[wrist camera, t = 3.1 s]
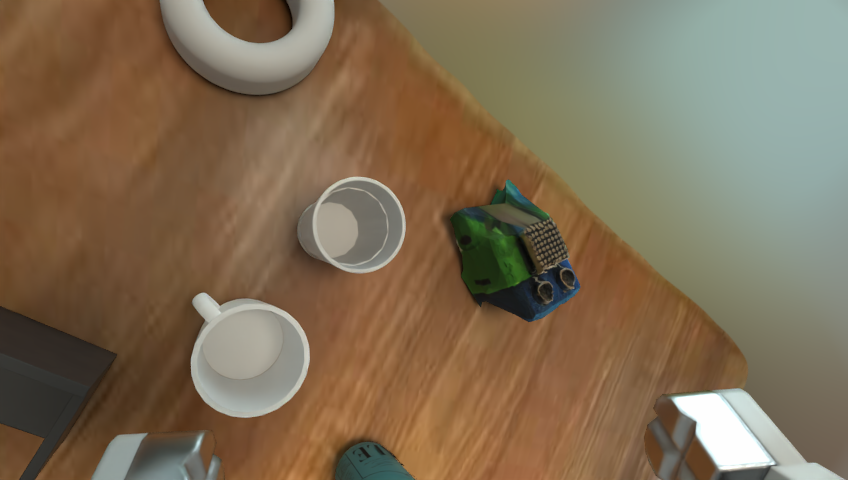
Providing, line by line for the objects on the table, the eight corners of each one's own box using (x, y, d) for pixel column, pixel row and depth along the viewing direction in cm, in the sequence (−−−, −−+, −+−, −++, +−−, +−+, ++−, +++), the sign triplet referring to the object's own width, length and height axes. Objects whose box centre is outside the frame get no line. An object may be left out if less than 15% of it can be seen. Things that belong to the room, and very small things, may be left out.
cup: (371, 203, 55) (414, 191, 44) (355, 275, 54) (394, 282, 43) (299, 183, 52) (325, 164, 41) (280, 259, 51) (302, 261, 40)
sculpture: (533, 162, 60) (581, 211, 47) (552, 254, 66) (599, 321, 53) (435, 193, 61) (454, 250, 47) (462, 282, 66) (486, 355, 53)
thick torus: (286, 125, 51) (297, 108, 45) (131, 44, 46) (121, 12, 40) (345, 3, 54) (363, -29, 48) (205, -87, 49) (206, -136, 43)
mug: (308, 340, 52) (332, 360, 42) (236, 405, 49) (244, 442, 40) (236, 258, 49) (244, 260, 40) (155, 321, 46) (143, 339, 37)
